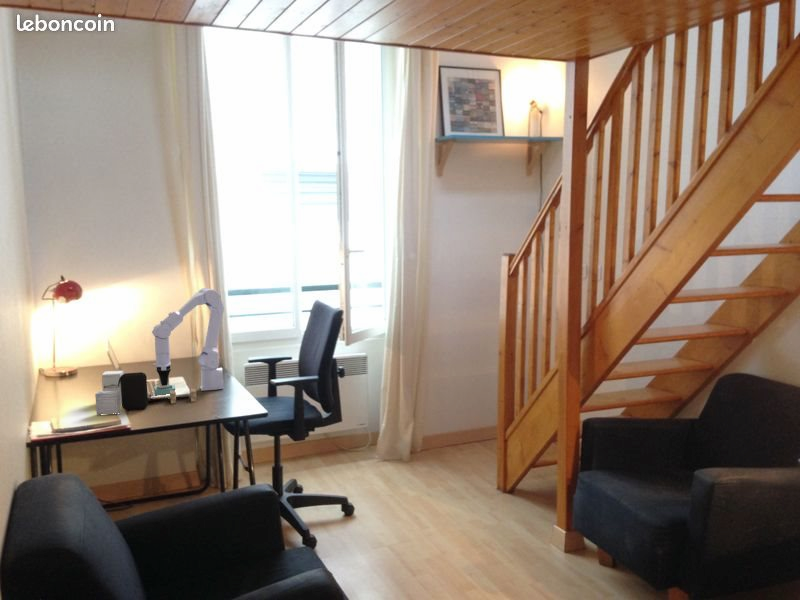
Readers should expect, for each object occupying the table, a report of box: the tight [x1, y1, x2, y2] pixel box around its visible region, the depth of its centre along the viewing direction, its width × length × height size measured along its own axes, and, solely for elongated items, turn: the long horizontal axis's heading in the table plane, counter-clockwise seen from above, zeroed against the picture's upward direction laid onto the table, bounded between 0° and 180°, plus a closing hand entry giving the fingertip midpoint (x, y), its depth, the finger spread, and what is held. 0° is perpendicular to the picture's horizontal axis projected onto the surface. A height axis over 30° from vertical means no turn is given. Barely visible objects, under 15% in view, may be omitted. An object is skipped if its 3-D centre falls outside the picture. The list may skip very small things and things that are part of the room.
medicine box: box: [94, 390, 122, 416], centre depth 280 cm, size 8×4×9 cm, turn 92°
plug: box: [158, 375, 170, 389], centre depth 309 cm, size 4×4×8 cm
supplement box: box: [101, 370, 124, 405], centre depth 299 cm, size 7×7×13 cm
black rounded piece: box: [118, 371, 149, 411], centre depth 286 cm, size 11×3×15 cm, turn 106°
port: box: [153, 384, 176, 396], centre depth 310 cm, size 12×12×4 cm
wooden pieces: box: [170, 388, 198, 404], centre depth 300 cm, size 10×6×4 cm, turn 109°
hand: (164, 384), depth 309 cm, fingers closed on plug, 4 cm apart
